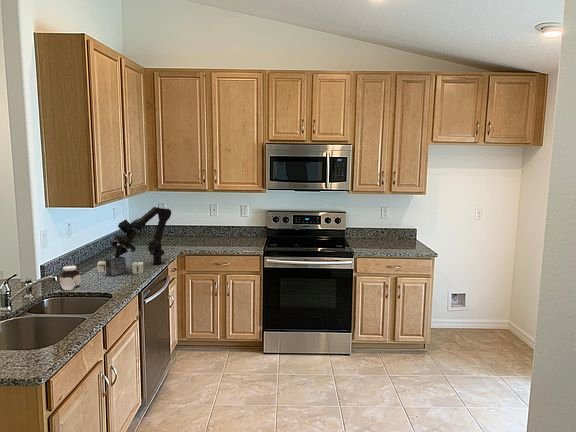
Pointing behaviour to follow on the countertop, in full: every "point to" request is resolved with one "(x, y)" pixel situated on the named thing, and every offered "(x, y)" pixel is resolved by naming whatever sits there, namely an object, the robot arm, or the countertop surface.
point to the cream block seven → (101, 266)
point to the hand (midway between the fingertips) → (115, 257)
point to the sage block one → (137, 267)
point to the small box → (115, 266)
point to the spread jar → (70, 278)
